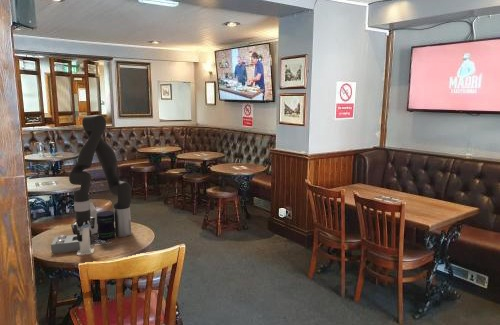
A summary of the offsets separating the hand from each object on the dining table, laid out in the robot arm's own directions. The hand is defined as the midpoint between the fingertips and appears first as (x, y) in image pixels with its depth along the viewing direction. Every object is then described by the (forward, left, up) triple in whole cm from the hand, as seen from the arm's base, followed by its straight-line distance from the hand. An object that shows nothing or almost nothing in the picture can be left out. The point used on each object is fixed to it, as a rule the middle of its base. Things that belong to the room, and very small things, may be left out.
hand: (84, 239), depth 193 cm
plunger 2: (+13, -7, -7) cm, 16 cm away
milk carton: (+1, -31, -8) cm, 32 cm away
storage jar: (-10, -20, -8) cm, 23 cm away
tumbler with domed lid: (0, 0, -7) cm, 7 cm away
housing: (+8, -10, -7) cm, 15 cm away
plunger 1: (+13, -13, -7) cm, 20 cm away
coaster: (0, 0, -7) cm, 7 cm away
